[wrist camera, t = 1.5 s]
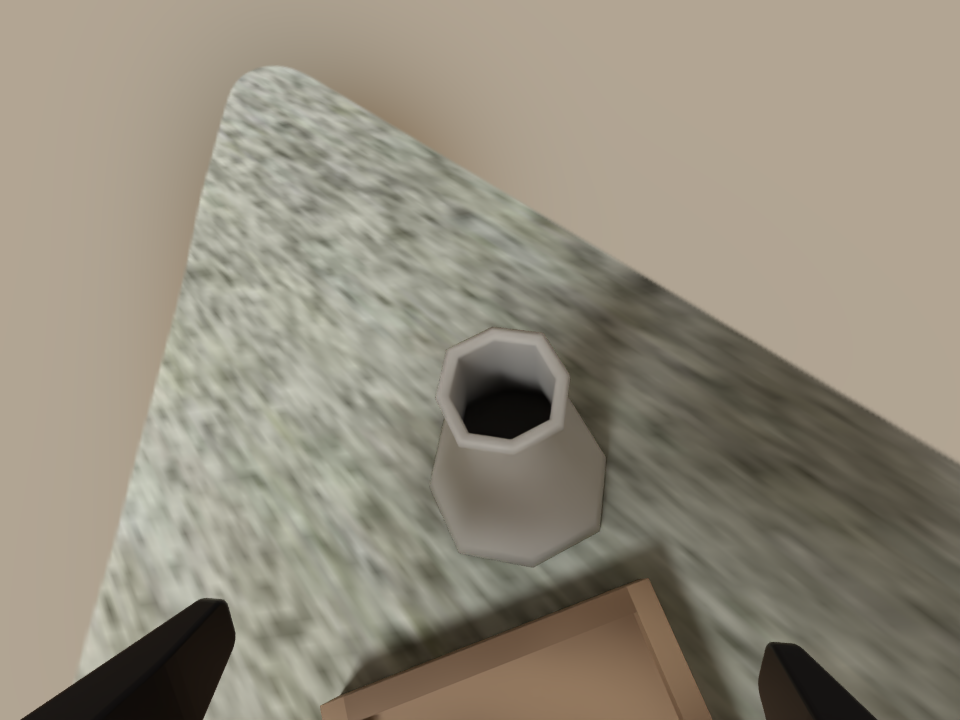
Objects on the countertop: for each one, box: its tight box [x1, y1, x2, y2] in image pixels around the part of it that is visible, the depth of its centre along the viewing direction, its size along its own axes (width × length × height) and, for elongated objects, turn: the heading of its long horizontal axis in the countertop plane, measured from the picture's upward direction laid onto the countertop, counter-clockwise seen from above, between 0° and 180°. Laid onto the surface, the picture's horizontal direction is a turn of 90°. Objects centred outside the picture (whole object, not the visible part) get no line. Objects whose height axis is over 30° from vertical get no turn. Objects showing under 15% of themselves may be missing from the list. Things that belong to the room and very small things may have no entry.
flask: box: [429, 327, 606, 567], centre depth 17 cm, size 7×7×10 cm
